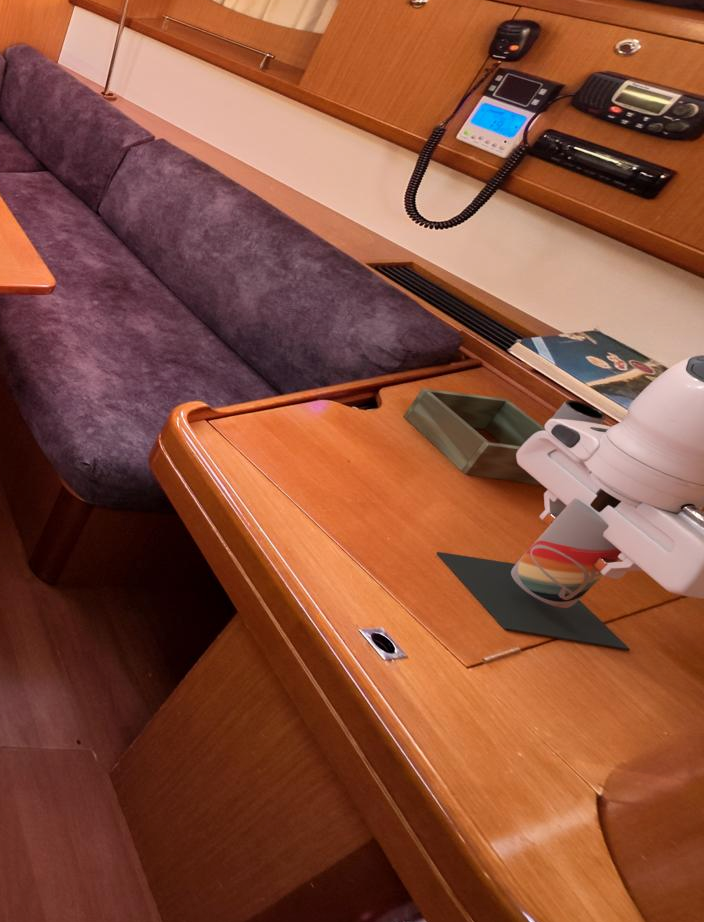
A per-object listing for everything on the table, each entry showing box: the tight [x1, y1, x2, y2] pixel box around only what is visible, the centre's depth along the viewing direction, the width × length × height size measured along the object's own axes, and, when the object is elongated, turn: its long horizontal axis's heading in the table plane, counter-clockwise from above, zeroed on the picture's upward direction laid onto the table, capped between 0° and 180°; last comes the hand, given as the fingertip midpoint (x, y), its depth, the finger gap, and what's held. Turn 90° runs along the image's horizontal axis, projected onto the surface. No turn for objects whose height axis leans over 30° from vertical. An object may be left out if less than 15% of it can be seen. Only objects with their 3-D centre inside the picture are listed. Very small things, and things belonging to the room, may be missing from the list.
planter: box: [550, 399, 607, 425], centre depth 108 cm, size 4×4×10 cm
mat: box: [436, 551, 631, 652], centre depth 86 cm, size 14×11×1 cm
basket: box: [403, 388, 546, 486], centre depth 109 cm, size 14×14×7 cm
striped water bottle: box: [511, 488, 622, 608], centre depth 80 cm, size 6×6×20 cm
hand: (576, 547), depth 81 cm, fingers closed on striped water bottle, 5 cm apart
